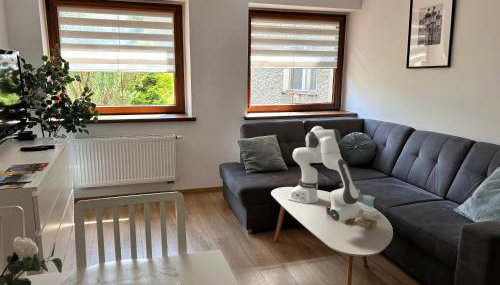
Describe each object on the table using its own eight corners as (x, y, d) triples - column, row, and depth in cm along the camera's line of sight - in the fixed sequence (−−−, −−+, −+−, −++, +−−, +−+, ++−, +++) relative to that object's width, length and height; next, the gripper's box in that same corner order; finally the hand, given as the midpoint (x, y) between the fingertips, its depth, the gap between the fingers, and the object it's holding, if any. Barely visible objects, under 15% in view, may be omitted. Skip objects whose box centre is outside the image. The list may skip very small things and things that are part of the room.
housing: (367, 217, 222) (369, 199, 219) (361, 214, 226) (362, 196, 223) (373, 216, 224) (375, 197, 222) (366, 213, 229) (368, 195, 226)
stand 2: (367, 229, 221) (368, 223, 220) (357, 224, 227) (357, 218, 226) (376, 226, 225) (376, 220, 224) (365, 222, 231) (366, 216, 231)
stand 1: (344, 224, 228) (345, 218, 227) (336, 219, 235) (336, 213, 234) (354, 221, 232) (355, 215, 231) (346, 217, 239) (346, 211, 238)
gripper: (368, 210, 208) (383, 206, 215) (341, 199, 224) (356, 195, 232) (367, 221, 209) (382, 216, 216) (340, 208, 226) (355, 204, 233)
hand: (369, 205), depth 224 cm, fingers closed on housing, 4 cm apart
